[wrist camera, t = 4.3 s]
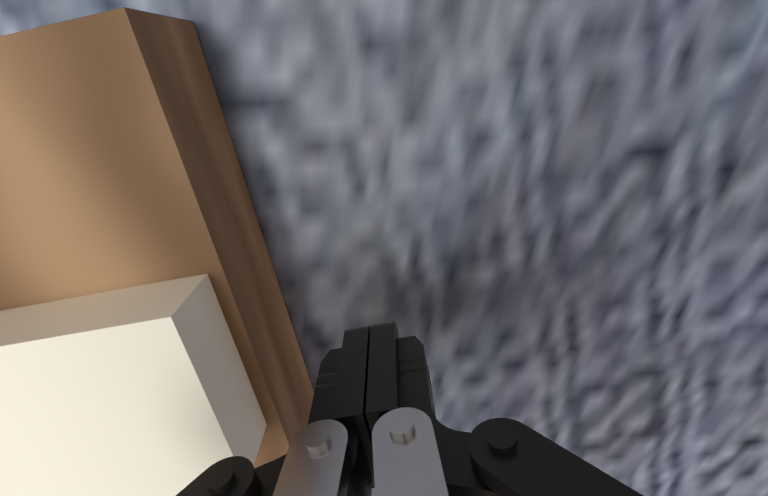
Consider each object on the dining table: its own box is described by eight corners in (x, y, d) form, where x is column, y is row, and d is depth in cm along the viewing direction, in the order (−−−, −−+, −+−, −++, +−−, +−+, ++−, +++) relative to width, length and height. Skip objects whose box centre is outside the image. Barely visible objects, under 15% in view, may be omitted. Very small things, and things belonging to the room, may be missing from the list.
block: (207, 273, 13) (170, 316, 11) (266, 424, 15) (246, 486, 13) (-66, 322, 14) (-152, 372, 12) (30, 460, 16) (-27, 523, 14)
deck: (193, 21, 14) (123, 7, 10) (338, 467, 22) (329, 551, 18) (-192, 109, 15) (-379, 125, 11) (76, 504, 23) (16, 589, 19)
